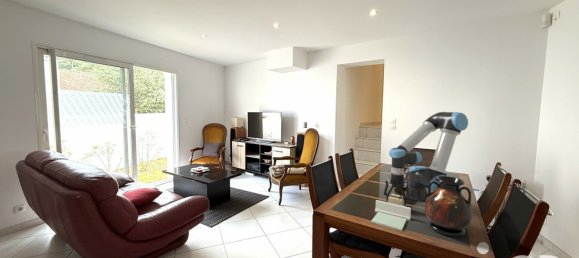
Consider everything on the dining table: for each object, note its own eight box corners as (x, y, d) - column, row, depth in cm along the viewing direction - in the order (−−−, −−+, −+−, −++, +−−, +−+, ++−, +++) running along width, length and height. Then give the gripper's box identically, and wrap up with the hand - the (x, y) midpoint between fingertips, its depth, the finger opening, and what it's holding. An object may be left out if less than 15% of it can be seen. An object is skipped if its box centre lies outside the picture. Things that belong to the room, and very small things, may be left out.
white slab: (376, 209, 150) (376, 200, 150) (410, 218, 139) (411, 208, 138) (374, 211, 148) (375, 201, 147) (409, 220, 136) (410, 209, 136)
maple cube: (390, 205, 157) (391, 193, 157) (403, 208, 153) (404, 196, 152) (387, 209, 151) (388, 197, 150) (401, 212, 146) (402, 200, 145)
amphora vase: (473, 228, 127) (477, 178, 124) (469, 246, 111) (473, 189, 108) (428, 216, 141) (430, 171, 139) (418, 230, 125) (421, 179, 123)
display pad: (378, 213, 145) (378, 211, 145) (406, 220, 136) (406, 219, 136) (371, 222, 134) (371, 220, 134) (401, 231, 125) (401, 229, 125)
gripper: (379, 172, 153) (377, 205, 155) (415, 177, 140) (413, 214, 143) (382, 169, 159) (380, 202, 161) (416, 174, 147) (414, 209, 149)
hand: (395, 207), depth 152 cm, fingers closed on maple cube, 8 cm apart
